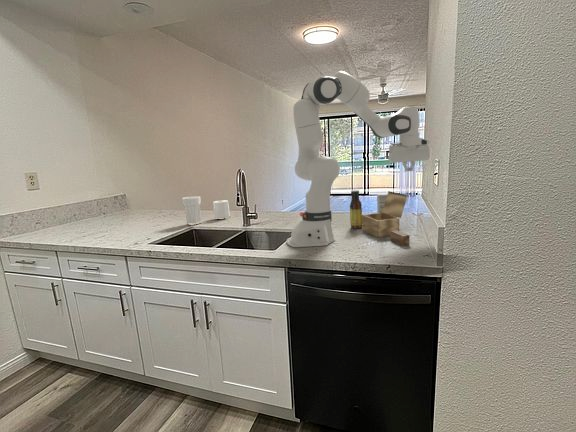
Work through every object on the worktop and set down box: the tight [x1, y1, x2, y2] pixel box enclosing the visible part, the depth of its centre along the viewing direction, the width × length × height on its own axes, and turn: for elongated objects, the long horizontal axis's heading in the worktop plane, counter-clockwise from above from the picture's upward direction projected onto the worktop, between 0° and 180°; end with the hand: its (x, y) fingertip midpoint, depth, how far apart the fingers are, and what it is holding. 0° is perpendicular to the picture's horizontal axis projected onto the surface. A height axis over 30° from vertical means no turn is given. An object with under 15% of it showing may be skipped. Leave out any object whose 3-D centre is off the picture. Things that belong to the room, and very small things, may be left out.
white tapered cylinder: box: [212, 199, 231, 219], centre depth 223 cm, size 10×10×12 cm
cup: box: [181, 195, 202, 224], centre depth 210 cm, size 11×11×17 cm
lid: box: [382, 191, 409, 219], centre depth 161 cm, size 11×17×1 cm
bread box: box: [361, 212, 400, 238], centre depth 161 cm, size 11×17×8 cm
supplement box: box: [376, 192, 398, 218], centre depth 174 cm, size 10×9×17 cm
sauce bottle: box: [349, 189, 363, 229], centre depth 173 cm, size 7×6×20 cm
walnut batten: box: [390, 230, 410, 247], centre depth 142 cm, size 3×10×4 cm, turn 12°
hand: (408, 171), depth 159 cm, fingers closed
